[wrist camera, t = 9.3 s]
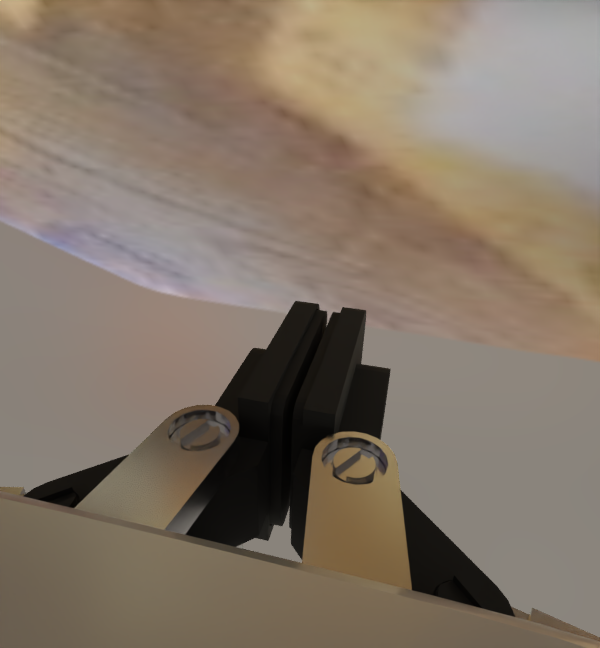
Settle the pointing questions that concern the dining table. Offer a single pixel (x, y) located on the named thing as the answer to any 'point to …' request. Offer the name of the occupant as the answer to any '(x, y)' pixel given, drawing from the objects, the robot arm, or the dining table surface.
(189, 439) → the robot arm
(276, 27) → the dining table surface
